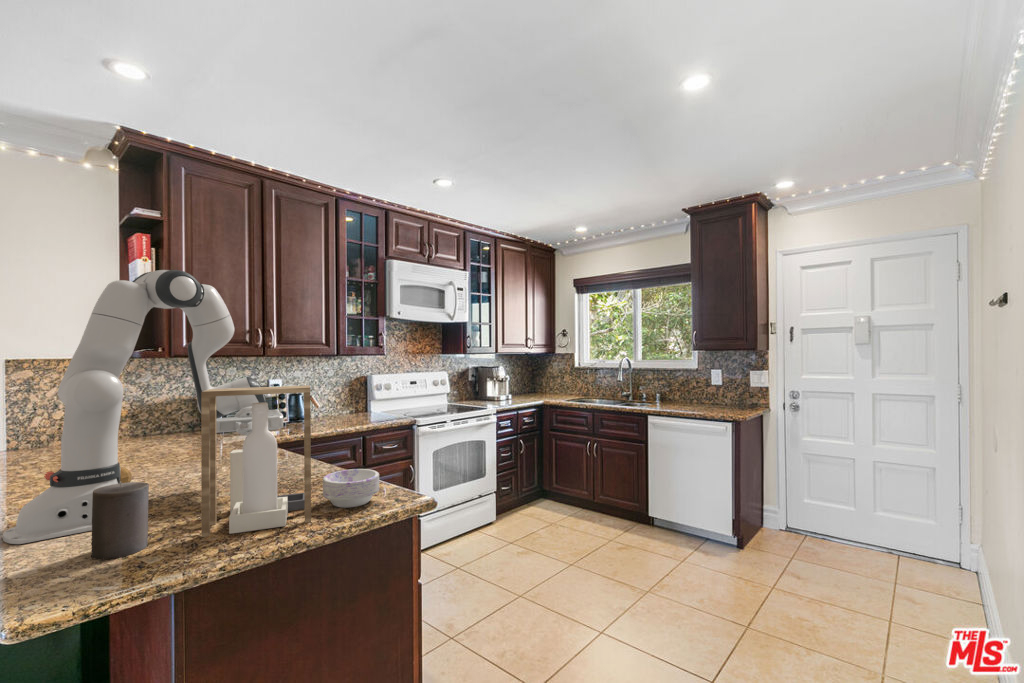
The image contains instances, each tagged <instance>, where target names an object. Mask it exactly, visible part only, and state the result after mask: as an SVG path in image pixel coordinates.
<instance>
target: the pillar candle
mask: <svg viewBox="0 0 1024 683" xmlns="http://www.w3.org/2000/svg"><path fill="white" fill-rule="evenodd" d="M149 486H150V484H149V483H148V482H142V481H130V482H129V483H121V481H120V484H113V485H108V486H104V487H100V488H97V489H95V490H94V491H93V498H92V530H91V539H90V540H91V543H90V546H91V555H90V558H92V559H94V560H98V561H99V560H100V561H101V560H112V559H117V558H123V557H126V556H130V555H132V554H137V553H138V552H141V551H143V550H145V549H146V548H147V547H148V543H149V542H148V540H149V539H148V537H149V494H150V493H149V489H150V488H149Z"/></svg>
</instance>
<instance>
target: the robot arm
mask: <svg viewBox="0 0 1024 683" xmlns="http://www.w3.org/2000/svg"><path fill="white" fill-rule="evenodd" d="M151 309H163V310H165V309H167V310H171V309H180V310H182V312H183V313H184V314H185V316H187V320H188V322H189V324H190V327H191V330H192V340H191V341H190V342H188V344H187V358H188V362H189V366H190V371H191V375H192V380H193V385H194V388H195V393H196V400H197V409H198V411H199V413H200V414H201V392H202V391H205V390H209V389H229V388H255V387H262V386H261V384H260V383H259V381H258V380H257V379H255V378H253V377H251V376H245V377H241V378H237V379H235V380H232V381H229V382H227V383H224V384H220V385H217V386H212V384H211V381H210V377H209V373H208V368H207V361H208V359H209V358H210V357H211V356H212V355H214V354H215V353H216V352H217V351H220V350H221V349H222V348H223V347H224V346H226V345H227V344H228V343H229V342H230V341H231V339H232V338H233V336H234V335H235V329H236V327H235V325H234V321H233V319H232V316H231V313H230V311H229V309H228V307H227V305H226V303H225V301H224V299H223V297H222V296H221V294H220V293H219V292H218V290H217V289H216V288H215V287H214V286H213V285H209V284H204V283H201V282H199V281H198V280H197V279H196V278H195V276H193V275H192V274H190V273H188V272H186V271H183V270H179V269H159V270H153V271H147V272H145V273H142V274H141V275H139V276H137V277H136V278H135V279H134V280H125V279H122V280H121V279H119V280H114V281H111V282H109V283H108V284H107V285H106V287H105V288H104V289H103V291H102V293H101V294H100V295H99V297H98V299H97V301H96V303H95V304H94V307H93V308H92V312H91V314H90V316H89V319H88V321H87V323H86V326H85V329H84V332H83V334H82V336H81V339H80V342H79V344H78V346H77V347H76V350H75V352H74V354H73V356H72V357H71V359H70V362H69V363H68V366H67V368H66V370H65V372H64V374H63V377H62V378H61V380H60V383H59V385H58V389H57V395H58V398H59V401H60V402H61V403H62V404H63V405H64V415H63V416H64V418H63V424H62V425H63V426H62V433H61V437H60V443H61V444H60V469H59V470H57V471H55V472H54V471H47V472H46V473H45V474H44V476H43V478H44V479H45V480H47V481H49V487H48V488H47V489H45V490H44V491H43V492H41V493H40V494H38V495H37V496H36V497H35V498H32V499H31V500H30V501H29V502H27V503H26V504H24V505H23V506H22V508H20V510H19V513H18V516H17V519H16V523H15V526H14V527H10V528H9V529H6V530H5V531H4V532H3V533H2V540H3V542H5V543H6V544H11V545H21V544H23V545H24V544H28V543H32V542H37V541H43V540H44V541H45V540H49V539H53V538H60V537H63V536H70V535H75V534H79V533H84V532H90V531H91V532H92V498H93V491H94V490H95V489H97V488H100V487H104V486H108V485H113V484H119V483H120V467H121V464H120V462H119V456H118V454H119V452H118V451H119V430H120V429H119V428H120V422H121V418H122V417H121V416H122V409H123V400H124V399H123V398H124V385H123V383H122V381H121V380H120V377H121V375H122V372H123V371H124V368H126V365H127V363H128V361H129V359H130V358H131V356H132V355H133V352H134V350H135V347H136V345H137V342H138V339H139V336H140V334H141V331H142V329H143V326H144V323H145V319H146V317H147V314H148V313H149V312H150V311H151ZM262 402H266V403H267V400H266V394H258V395H235V396H216V434H218V433H233V432H236V433H238V434H239V435H241V436H245V437H247V436H248V435H249V434H250V433H251V432H252V411H251V408H252V404H253V403H262ZM234 412H236V413H235V414H234V416H232V417H231V416H230V417H225V416H227V415H229V414H231V413H234ZM283 428H284V415H283V412H280V409H278V408H277V409H275V408H269V410H268V430H269V431H270V432H272V431H278V430H279V429H283Z"/></svg>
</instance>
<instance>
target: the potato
mask: <svg viewBox="0 0 1024 683" xmlns="http://www.w3.org/2000/svg"><path fill="white" fill-rule="evenodd" d="M132 478H133V476H132V472H131V471H130V470H129V469H128V468H125V467H122V466H120V481H121V483H129V482H132ZM119 484H120V483H119Z"/></svg>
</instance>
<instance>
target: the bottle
mask: <svg viewBox="0 0 1024 683" xmlns="http://www.w3.org/2000/svg"><path fill="white" fill-rule="evenodd" d="M269 409H270V408H269V403H268V402H267V401H266V402H262V403H253V404H252V408H251V411H252V432H251V433H250V434H249V435H248V436H245V438H244V440H243V444H242V450H243V512H242V514H245V513H253V512H261V511H269V510H276V509H278V507H277V496H278V442H277V439H276V437H275V434H273V433H272V431H269V430H268V410H269Z"/></svg>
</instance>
